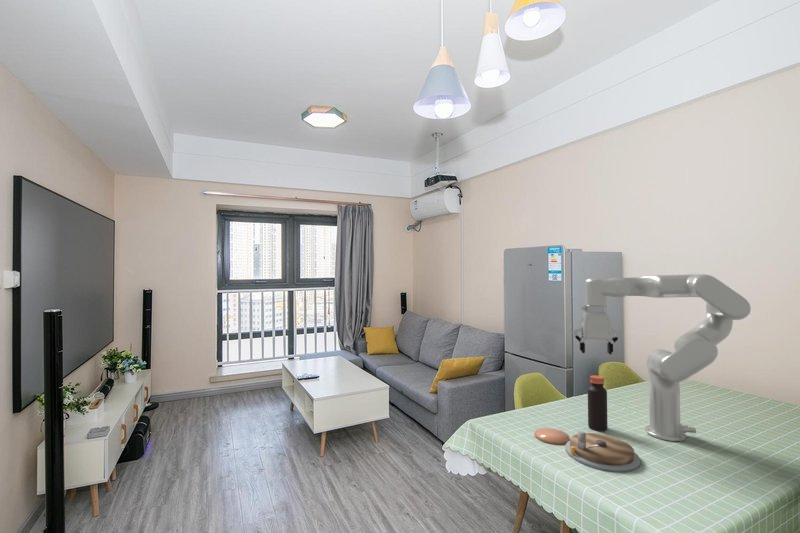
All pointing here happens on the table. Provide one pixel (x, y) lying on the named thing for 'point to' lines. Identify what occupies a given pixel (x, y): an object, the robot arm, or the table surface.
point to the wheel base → (606, 467)
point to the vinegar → (597, 404)
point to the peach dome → (551, 436)
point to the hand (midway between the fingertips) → (596, 353)
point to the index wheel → (602, 448)
